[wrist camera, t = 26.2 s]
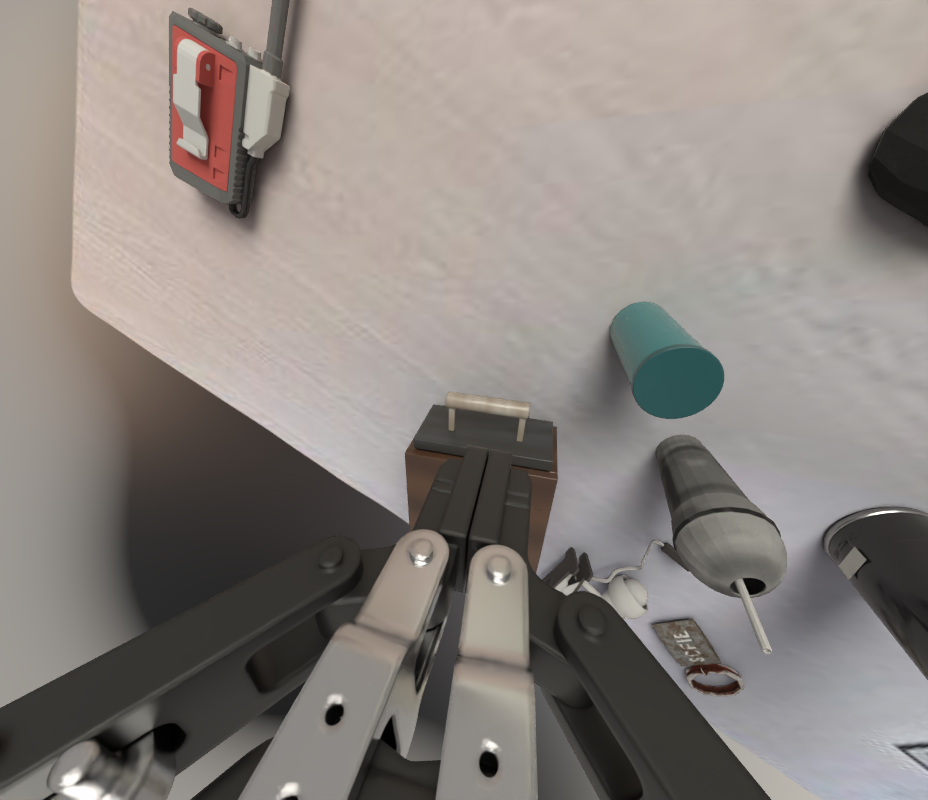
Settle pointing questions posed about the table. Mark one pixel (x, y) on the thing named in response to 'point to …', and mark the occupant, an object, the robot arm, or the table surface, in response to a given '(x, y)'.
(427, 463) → the cabinet
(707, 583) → the beverage cup
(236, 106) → the walkie-talkie
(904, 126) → the gaming mouse
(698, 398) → the tin
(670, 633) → the keychain
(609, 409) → the table surface
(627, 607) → the clip-on lamp
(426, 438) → the drawer
